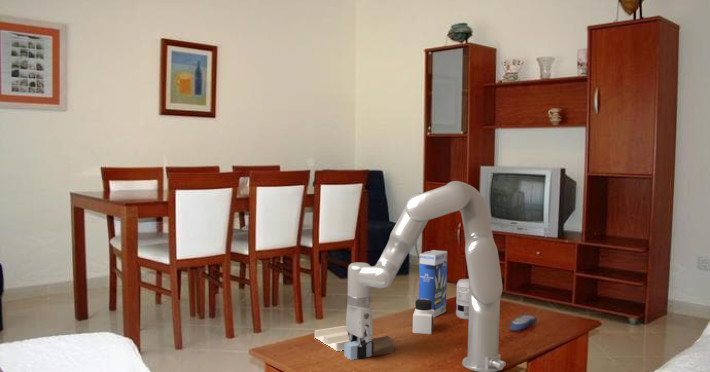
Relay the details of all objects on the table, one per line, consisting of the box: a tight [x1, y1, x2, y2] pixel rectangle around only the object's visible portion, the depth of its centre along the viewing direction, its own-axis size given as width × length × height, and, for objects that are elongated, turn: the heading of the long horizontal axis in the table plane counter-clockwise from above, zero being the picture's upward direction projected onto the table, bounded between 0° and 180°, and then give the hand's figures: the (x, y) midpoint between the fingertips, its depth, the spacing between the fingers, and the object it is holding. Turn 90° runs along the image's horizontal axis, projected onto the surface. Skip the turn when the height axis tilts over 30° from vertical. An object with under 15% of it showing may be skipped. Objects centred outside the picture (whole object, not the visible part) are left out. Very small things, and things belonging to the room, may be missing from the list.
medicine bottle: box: [412, 298, 434, 335], centre depth 223 cm, size 7×7×12 cm
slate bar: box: [343, 340, 372, 361], centre depth 195 cm, size 4×8×4 cm, turn 122°
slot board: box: [314, 324, 373, 352], centre depth 209 cm, size 16×14×3 cm
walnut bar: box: [370, 335, 395, 357], centre depth 199 cm, size 4×8×4 cm, turn 122°
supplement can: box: [455, 278, 469, 320], centre depth 244 cm, size 8×8×15 cm
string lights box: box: [418, 249, 448, 319], centre depth 248 cm, size 13×8×26 cm, turn 149°
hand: (357, 355), depth 195 cm, fingers closed on slate bar, 4 cm apart
